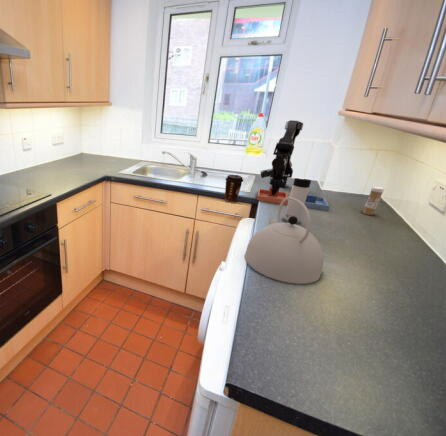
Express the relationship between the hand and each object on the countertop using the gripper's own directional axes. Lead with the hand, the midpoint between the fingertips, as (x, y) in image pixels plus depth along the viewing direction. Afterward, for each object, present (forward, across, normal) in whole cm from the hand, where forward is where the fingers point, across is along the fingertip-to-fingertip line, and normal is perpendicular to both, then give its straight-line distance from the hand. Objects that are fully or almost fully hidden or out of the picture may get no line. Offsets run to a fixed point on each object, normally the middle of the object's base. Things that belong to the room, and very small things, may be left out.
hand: (272, 193), depth 161 cm
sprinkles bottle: (+3, +1, +43) cm, 43 cm away
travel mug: (+3, +31, +8) cm, 32 cm away
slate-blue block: (+2, -1, +18) cm, 18 cm away
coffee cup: (+3, +14, -20) cm, 25 cm away
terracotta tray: (+3, 0, 0) cm, 3 cm away
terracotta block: (+1, 0, 0) cm, 1 cm away
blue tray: (+3, -1, +18) cm, 18 cm away
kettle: (+3, +74, +2) cm, 74 cm away
